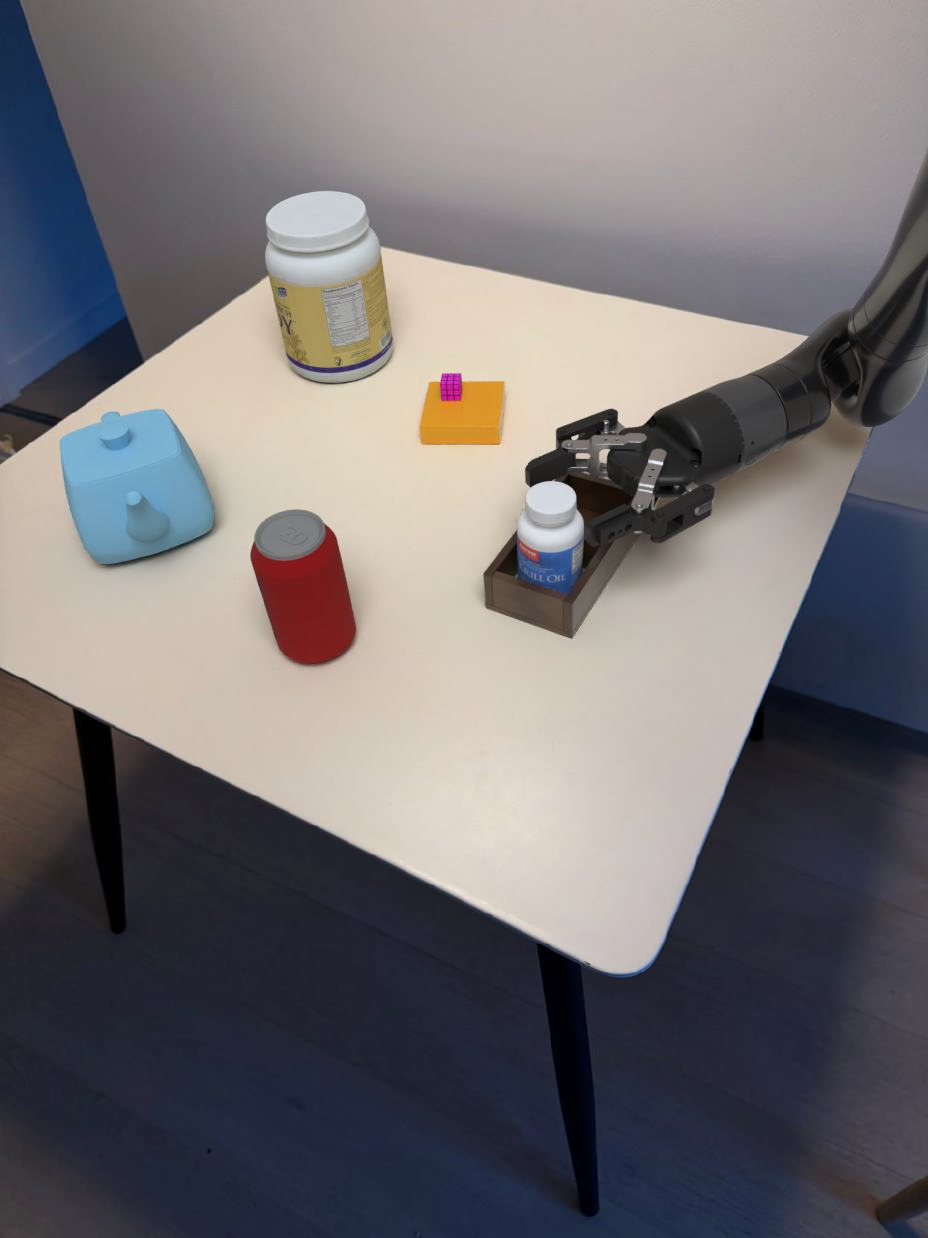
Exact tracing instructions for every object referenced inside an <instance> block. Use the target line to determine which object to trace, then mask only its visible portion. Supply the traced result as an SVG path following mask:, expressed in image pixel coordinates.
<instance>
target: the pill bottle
mask: <svg viewBox="0 0 928 1238" xmlns="http://www.w3.org/2000/svg"><path fill="white" fill-rule="evenodd" d="M516 530H517V555H518V578H519V579H522V580H525V581H528V582H531V583H534V584H537V585H540V586H543V587H546V588H549V589H551V590H554V591H557V592H560V593H563V594H566V595H568V594H569V592H570V591H571V589H572V588H573V586H574V585H575V583H576V582H577V580H578V579H579V578H580V576H581V575H582V563H583V540H584V521H583V518H582V516H581V514H580V512H579V511H578V510H577V506H576V494H575V492H574V490H573V489H572V488H571V487H570V486H568V485H566V484H564V483H561V482H556V481H554V480H553V481H547V482H542V483H539V484H536V485H534V486H533V487H531V488H530V487H529V489H528V490H527V492H526V493H525V502H524V509H523V510H522V511H521V512H520V513H519V515H518V518H517V521H516Z"/></svg>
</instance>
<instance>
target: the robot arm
mask: <svg viewBox="0 0 928 1238" xmlns="http://www.w3.org/2000/svg"><path fill="white" fill-rule="evenodd" d="M904 205H905V206H904V208H903V210H902V211H903V212H902V215H901V217H900V219H899V223H898V224H897V225H898V226H897V228H896V232H895V234H894V237H893V239H892V242H891V245H890V248H889V250H888V252H887V254H886V256H885V257H884V258H885V259H884V260H883V262H882V264H881V265H880V267H879V269H878V271H877V272H876V274H874V276H873V278H872V280H870V282H869V283H868V285H867V287H866V288H865V290H864V291H863V292H862V294H861V296H860V297H859V299H858V300H857V302H856V303H855V304H854V306H853V307H847V308H844V309H842V310H840V311H837V312H836V313H834V314H832V315H831V316H830V317H829V318H827V319H826V320H825V321H824V322H823V323H821V324H820V325H819V326H818V327H817V328H816V329H815V330H814V331H813V332H812V333H811V334H810V335H809V336H808V337H807V338H805V340H803V341H802V343H800V344H799V345H798V346H797V347H795V348H794V349H793V350H791V351H790V352H789V353H787V354H785V355H784V356H782V357H781V358H779V359H777V360H776V361H774V362H772V363H770V364H768V365H766V366H763V367H760V368H759V369H756V370H754V371H751V372H749V373H747V374H745V375H742V376H740V377H736V378H733V379H728V380H725V381H721V382H719V383H717V384H714V385H711V386H709V387H707V388H705V389H702V390H701V391H698V392H696V393H694V394H691V395H689V396H687V397H684V398H682V399H679V400H677V401H675V402H672V403H671V404H668V405H666V406H664V407H662V408H658V410H656V411H655V412H654V413H653V414H652V415H651V416H650V417H649V419H648V420H646V422H645V423H643V424H642V425H639V426H632V427H629V426H628V427H626V426H624V425H623V424H622V423H621V422H620V421H619V412H618V410H617V409H615V408H607V409H604V410H602V411H599V412H596V413H593V414H590V415H589V416H586V417H583V418H580V419H578V420H575V421H572V422H570V423H566V424H564V425H561V426H559V427H558V428H556V429H555V449H554V450H551V451H549V452H547V453H544V454H542V455H540V456H537V457H535V458H532V459H531V460H530V461H529V462H528V463H527V464H526V466H525V467H524V476H525V477H524V479H525V480H524V483H525V485H527V486H528V487H529V489H530V488H531V487H533V486H534V485H536V484H539V483H542V482H547V481H554V480H555V479H557V478H560V477H562V476H564V475H566V474H567V472H583V473H587V474H590V475H591V476H593V477H601V478H608V480H611V481H612V482H614V483H616V484H618V485H620V486H621V487H622V489H623V490H624V492H625V493H626V494H627V495H629V496H630V497H631V496H635V497H634V499H633V502H632V504H631V507H628V506H627V505H626V504H623V505H621V506H619V507H617V508H615V509H613V510H611V511H608V512H606V513H604V514H602V515H600V516H598V517H596V518H593V519H591V520H590V521H588V522H587V524H586V527H585V540H586V541H587V542H588V543H589V544H590V545H591V546H596V545H598V544H600V545H605V544H609V543H611V542H613V541H615V540H617V539H619V538H621V537H623V536H625V535H627V534H629V533H632V532H633V533H640V534H642V533H645V534H646V535H648V536H650V537H649V538H650V540H651V542H652V543H655V544H662V543H664V542H666V541H669V540H670V539H672V538H673V537H675V536H677V535H679V534H681V533H682V532H684V531H685V530H687V529H690V528H692V527H693V526H694V525H696V524H698V523H700V522H702V521H704V520H705V519H707V518H709V517H710V516H711V515H712V513H713V508H714V502H715V501H714V500H715V492H716V488H715V486H713V485H714V484H716V483H719V482H720V481H723V480H724V479H727V478H729V477H731V476H733V475H735V474H738V473H739V472H741V471H744V470H746V469H748V468H751V467H752V466H754V465H756V464H758V463H760V462H761V461H763V460H764V459H766V458H767V457H768V456H770V455H772V454H773V453H775V452H778V451H779V450H781V449H784V448H786V447H788V446H790V445H792V444H794V443H796V442H798V441H800V440H803V439H805V438H807V437H808V436H810V435H813V434H815V432H817V431H819V430H820V429H821V428H823V426H824V425H825V424H826V423H827V422H828V420H829V418H830V415H831V409H832V405H833V406H834V408H835V409H836V411H837V412H838V414H839V415H840V416H841V418H842V419H843V420H845V422H847V423H849V424H850V425H852V426H855V427H859V428H874V427H878V426H881V425H884V424H886V423H888V422H890V421H892V420H894V419H895V418H897V416H899V415H901V414H902V412H904V411H905V409H906V408H907V407H908V406H909V405H910V404H911V403H912V402H913V400H914V399H915V397H916V396H917V394H918V393H919V391H920V389H921V387H922V386H923V383H924V380H925V377H926V375H927V374H926V373H927V370H928V147H927V148H926V151H925V153H924V156H923V159H922V161H921V164H920V166H919V169H918V171H917V174H916V178H915V180H914V182H913V185H912V187H911V190H910V192H909V195H908V198H907V200H906V203H905V204H904ZM576 436H577V438H576V439H573V437H576ZM603 450H608V452H607V455H606V462H605V463H604V462H601V460H600V452H601V451H603ZM577 454H588V455H589V457H588V458H577ZM661 499H673V500H672V501H670V502H668V503H666V504H664V505H662V506H660V507H658V508H657V506H658V504H659V501H660V500H661Z"/></svg>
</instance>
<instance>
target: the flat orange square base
mask: <svg viewBox="0 0 928 1238" xmlns="http://www.w3.org/2000/svg"><path fill="white" fill-rule="evenodd" d="M506 399H507V398H506V382H505V380H491V381H490V380H484V381H483V380H477V381H476V380H475V381H474V380H473V381H471V380H470V381H469V380H468V381H467V380H466V381H463V379H462V373H460V372H458V373H457V372H454V373H453V372H451V373H448V372H447V373H446V372H445V373H441V377H440V381H429V382H428V387H427V390H426V396H425V400H424V405H423V410H422V414H421V418H420V423H419V432H420V440H421V444H422V445H500V444H501V439H502V431H503V422H504V413H505V406H506Z"/></svg>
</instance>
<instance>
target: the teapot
mask: <svg viewBox="0 0 928 1238" xmlns="http://www.w3.org/2000/svg"><path fill="white" fill-rule="evenodd" d="M100 420H101V421H99V422H96V423H93V424H90V425H87V426H84V427H81V428H78V429H76V430H73V431H71V432H69V433H67V434H65V435H63V436H62V437H61V438H60V440H59V453H60V462H61V469H62V470H61V471H62V478H63V485H64V491H65V495H66V500H67V504H68V507H69V511H70V514H71V517H72V518H71V519H72V520H73V523H74V526H75V529H76V531H77V535H79V536H78V537H79V539H80V541H81V544H82V547H83V548H84V550H85V551H86V552H87V554H88V555H90V557H91V558H92V559H94V560H95V561H96V562H97V563H99V564H102V565H111V564H118V563H123V562H130V561H132V560H136V559H140V558H144V557H147V556H148V557H149V556H151V555H155V554H159V553H162V552H165V551H167V550H170V549H173V548H175V547H178V546H180V545H182V544H186V543H189V542H191V541H193V540H194V539H197V538H199V537H201V536H203V535H205V534H206V533H209V531H211V530H212V528H213V525H214V517H215V509H214V508H215V507H214V503H213V500H212V495H211V492H210V489H209V486H208V483H207V480H206V477H205V475H204V473H203V471H202V469H201V466H200V464H199V462H198V460H197V458H196V456H195V454H194V453H193V450H192V449H191V447H190V445H189V443H188V441H187V440H186V438H185V436H184V435H183V433H182V432H181V430H180V428H179V427H178V425H177V424H176V423H175V421H174V420H173V418H171V416H170V415H169V414H168V413H167V411H166V410H165V409H163V408H162V409H161V408H152V409H151V408H150V409H146V410H141V411H135V412H132V413H128V414H124V415H121V414H120V412H118V411H114V410H113V411H108V412H106V413H104V414H103V415H102V416H101V417H100Z"/></svg>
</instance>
